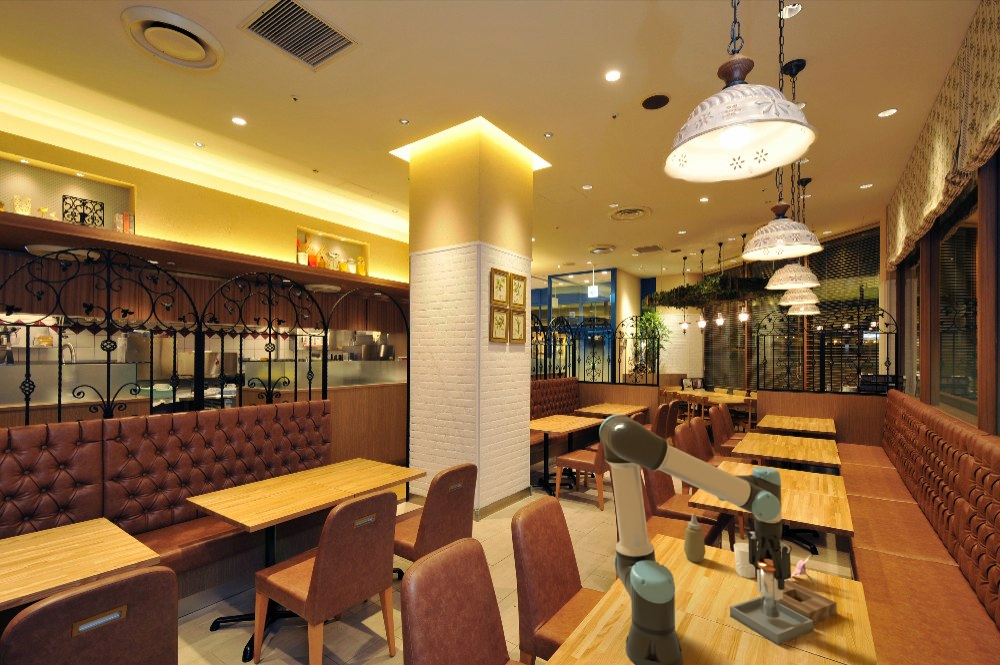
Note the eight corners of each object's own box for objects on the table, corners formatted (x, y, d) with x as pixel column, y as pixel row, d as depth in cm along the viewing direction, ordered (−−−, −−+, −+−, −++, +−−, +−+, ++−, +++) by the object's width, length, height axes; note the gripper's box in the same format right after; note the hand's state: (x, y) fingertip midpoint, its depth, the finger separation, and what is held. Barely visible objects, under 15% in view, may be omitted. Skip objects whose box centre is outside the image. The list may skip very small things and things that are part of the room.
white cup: (736, 577, 174) (735, 550, 175) (732, 567, 182) (732, 541, 182) (760, 580, 172) (759, 552, 172) (755, 570, 180) (754, 544, 180)
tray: (777, 645, 135) (777, 634, 135) (730, 616, 150) (729, 606, 150) (813, 630, 142) (813, 620, 142) (764, 604, 156) (764, 595, 156)
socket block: (808, 626, 144) (808, 613, 144) (760, 600, 158) (760, 588, 158) (836, 615, 150) (836, 602, 150) (788, 591, 164) (787, 579, 164)
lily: (804, 575, 177) (789, 551, 180) (833, 576, 167) (817, 550, 170) (787, 593, 172) (772, 568, 174) (816, 595, 162) (799, 568, 164)
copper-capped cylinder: (773, 621, 141) (771, 570, 142) (754, 610, 147) (752, 561, 148) (787, 615, 144) (785, 565, 144) (767, 605, 150) (766, 557, 150)
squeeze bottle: (687, 553, 195) (686, 509, 195) (708, 558, 190) (707, 513, 190) (681, 560, 189) (680, 515, 189) (702, 566, 184) (701, 519, 184)
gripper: (804, 526, 140) (806, 606, 139) (750, 507, 156) (752, 578, 156) (787, 531, 137) (790, 612, 136) (734, 511, 153) (736, 583, 152)
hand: (769, 594), depth 146 cm, fingers closed on copper-capped cylinder, 5 cm apart
